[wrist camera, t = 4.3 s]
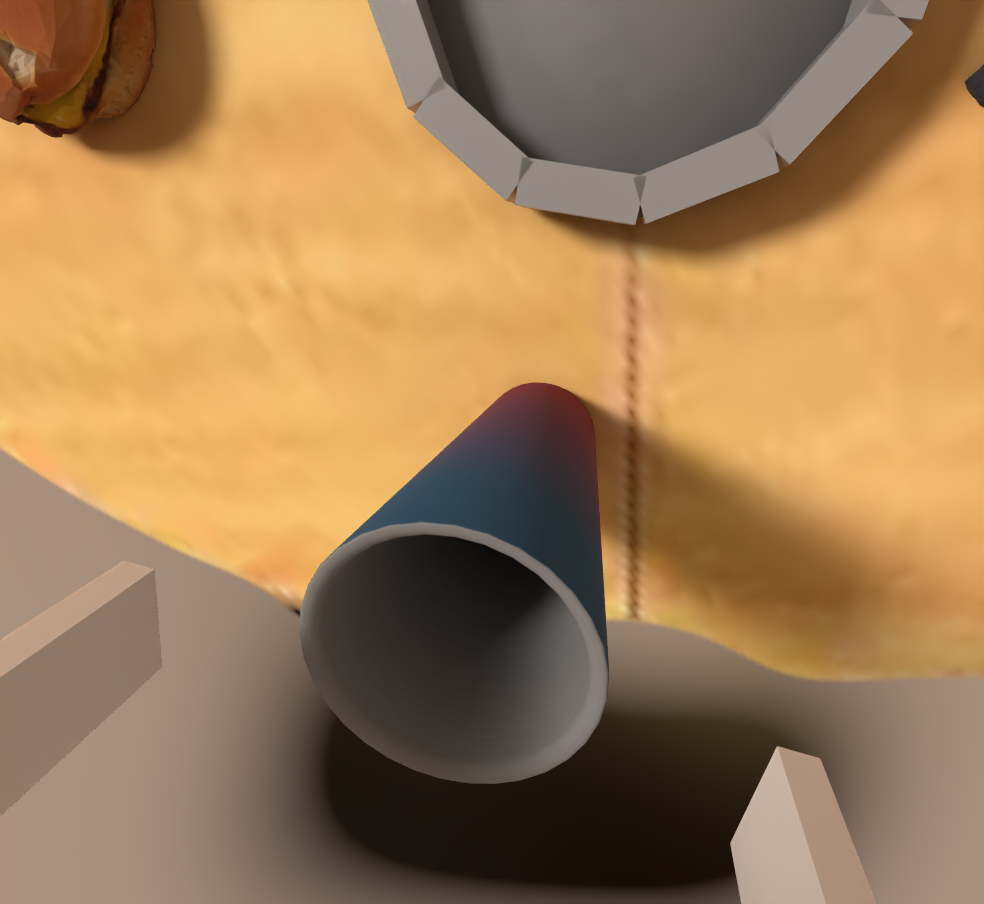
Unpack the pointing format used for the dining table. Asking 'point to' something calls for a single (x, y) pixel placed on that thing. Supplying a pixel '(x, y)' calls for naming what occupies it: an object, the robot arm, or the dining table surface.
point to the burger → (72, 60)
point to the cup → (474, 602)
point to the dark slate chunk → (977, 85)
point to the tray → (633, 90)
